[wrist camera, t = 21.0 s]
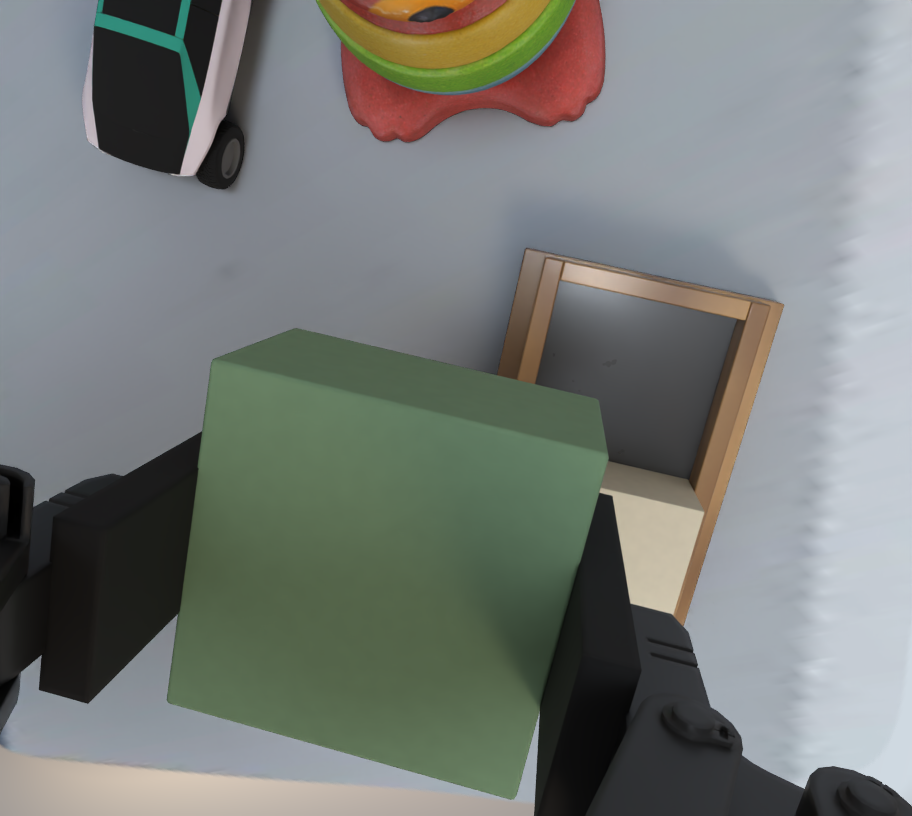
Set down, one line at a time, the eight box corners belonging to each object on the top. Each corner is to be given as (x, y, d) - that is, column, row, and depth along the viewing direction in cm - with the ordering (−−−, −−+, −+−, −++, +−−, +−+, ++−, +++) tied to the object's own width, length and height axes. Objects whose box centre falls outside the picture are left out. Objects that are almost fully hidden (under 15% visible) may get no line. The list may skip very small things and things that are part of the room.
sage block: (250, 601, 18) (164, 704, 14) (294, 326, 16) (209, 357, 12) (526, 675, 17) (515, 802, 14) (599, 398, 16) (610, 454, 12)
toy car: (302, -98, 32) (254, -158, 27) (236, 192, 35) (182, 187, 30) (168, -139, 32) (95, -207, 27) (115, 152, 35) (40, 141, 30)
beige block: (512, 575, 37) (507, 617, 33) (544, 445, 35) (542, 474, 31) (650, 608, 36) (661, 655, 32) (688, 479, 35) (705, 512, 31)
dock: (452, 574, 38) (445, 598, 36) (526, 247, 34) (523, 249, 32) (675, 629, 37) (684, 657, 35) (778, 301, 33) (795, 308, 31)
